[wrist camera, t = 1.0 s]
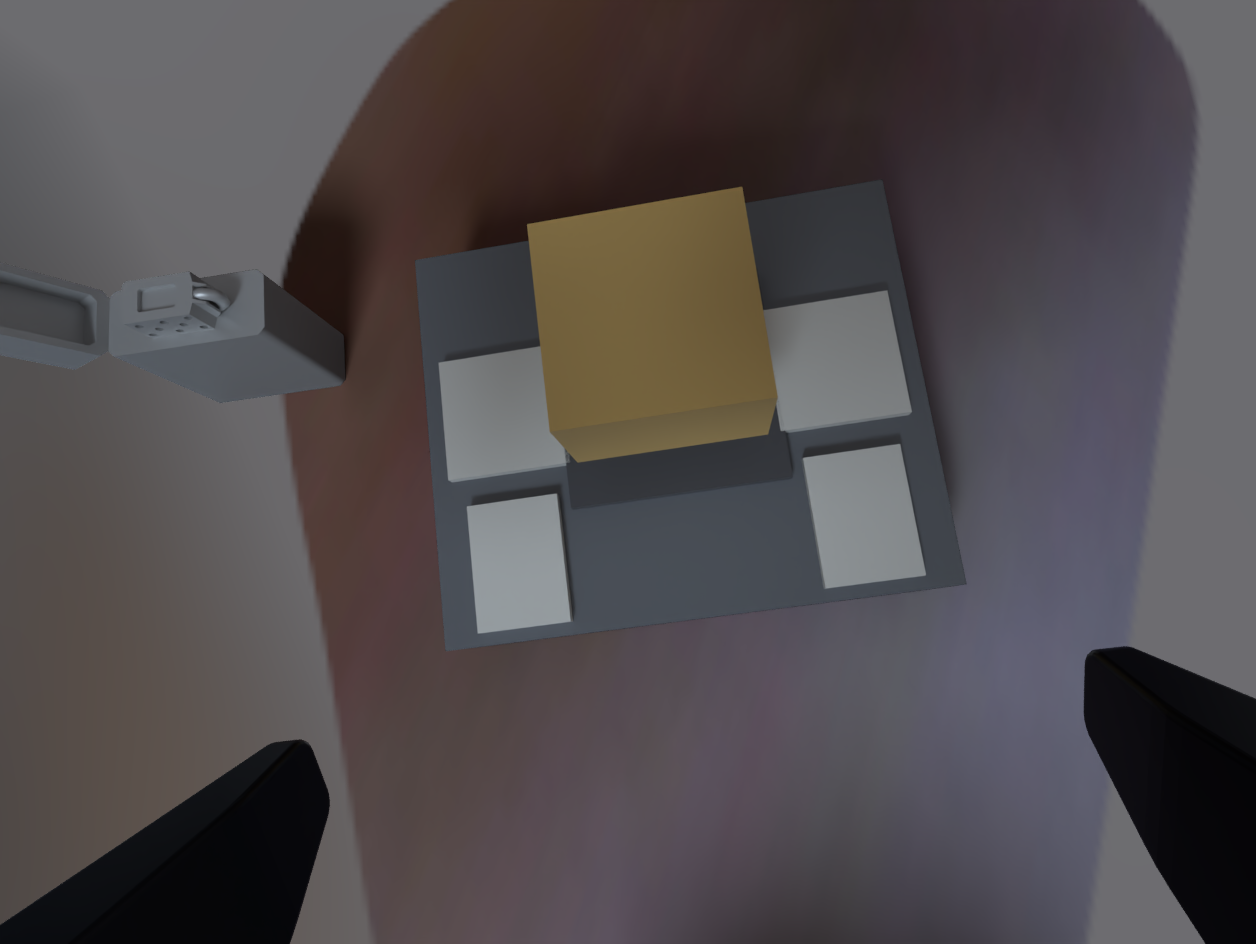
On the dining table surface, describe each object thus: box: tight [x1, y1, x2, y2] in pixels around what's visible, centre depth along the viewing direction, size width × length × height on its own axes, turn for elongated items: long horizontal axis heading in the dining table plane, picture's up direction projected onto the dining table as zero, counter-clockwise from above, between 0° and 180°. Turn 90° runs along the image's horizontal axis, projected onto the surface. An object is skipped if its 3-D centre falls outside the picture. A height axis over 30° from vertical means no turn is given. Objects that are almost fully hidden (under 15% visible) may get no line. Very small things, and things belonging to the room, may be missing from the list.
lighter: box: [0, 262, 345, 403], centre depth 20 cm, size 7×2×8 cm, turn 96°
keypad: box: [415, 179, 966, 651], centre depth 20 cm, size 10×12×3 cm
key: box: [527, 187, 778, 463], centre depth 15 cm, size 4×4×3 cm
